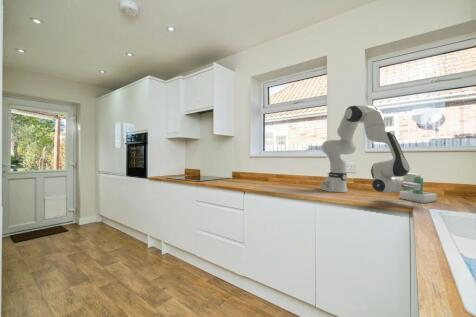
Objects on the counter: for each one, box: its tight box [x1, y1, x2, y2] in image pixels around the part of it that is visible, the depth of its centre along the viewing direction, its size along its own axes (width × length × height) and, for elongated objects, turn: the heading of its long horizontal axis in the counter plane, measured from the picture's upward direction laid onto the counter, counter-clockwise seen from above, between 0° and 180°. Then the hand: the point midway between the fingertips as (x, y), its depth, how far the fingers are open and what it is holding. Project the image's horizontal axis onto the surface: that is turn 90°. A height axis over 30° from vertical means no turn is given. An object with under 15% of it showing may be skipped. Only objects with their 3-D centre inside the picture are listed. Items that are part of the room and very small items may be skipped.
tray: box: [398, 190, 438, 204], centre depth 146 cm, size 14×14×4 cm
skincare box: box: [402, 172, 421, 191], centre depth 161 cm, size 8×7×16 cm
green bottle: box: [413, 174, 424, 195], centre depth 145 cm, size 5×5×15 cm
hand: (406, 183), depth 141 cm, fingers open, 8 cm apart
